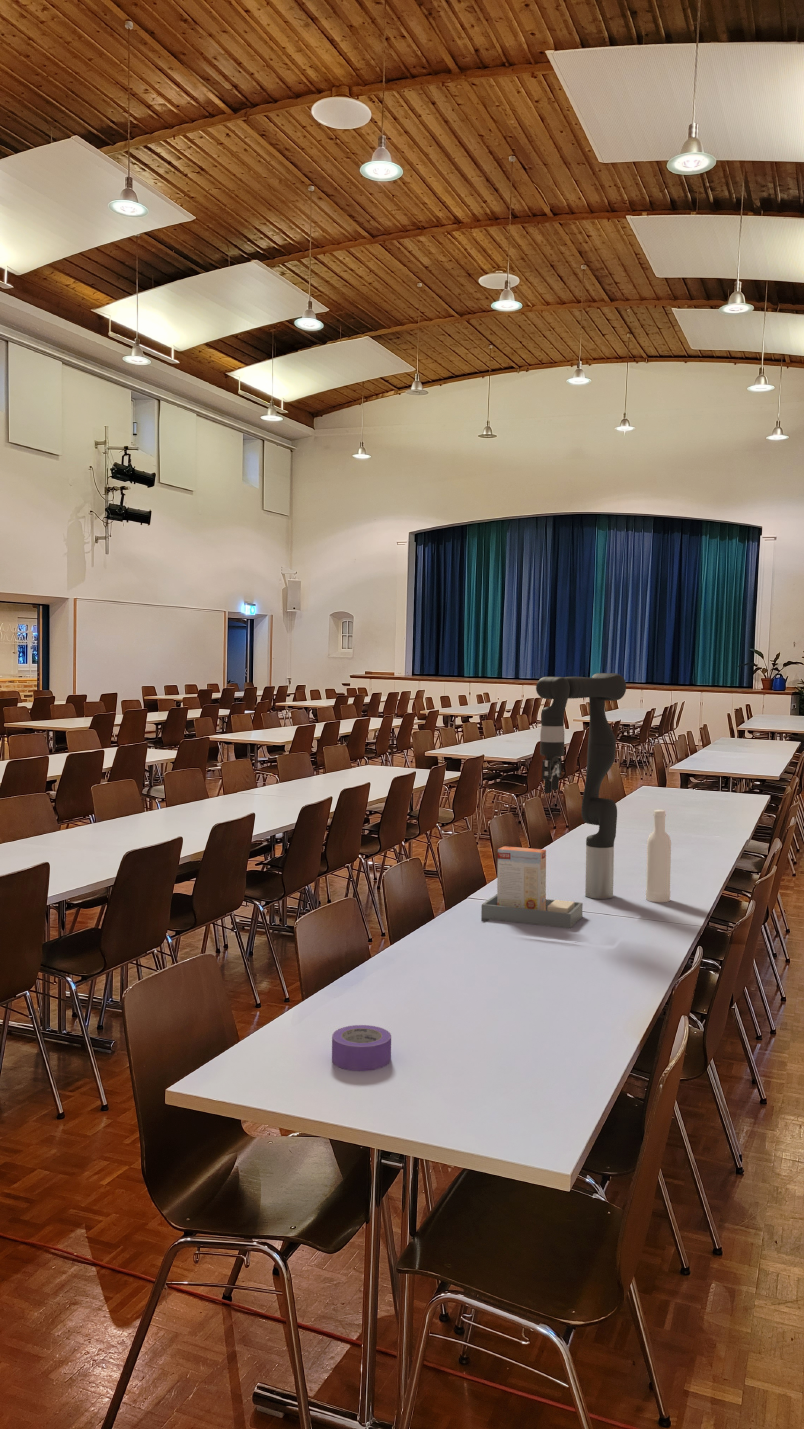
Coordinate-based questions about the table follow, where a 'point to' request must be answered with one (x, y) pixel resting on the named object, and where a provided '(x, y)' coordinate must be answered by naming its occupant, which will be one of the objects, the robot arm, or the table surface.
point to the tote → (530, 914)
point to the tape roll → (361, 1047)
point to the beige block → (561, 906)
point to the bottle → (658, 861)
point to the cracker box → (521, 878)
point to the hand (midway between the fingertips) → (551, 791)
